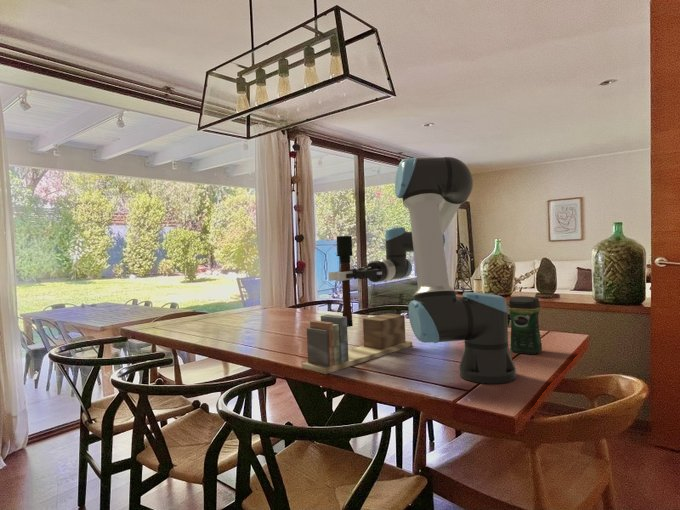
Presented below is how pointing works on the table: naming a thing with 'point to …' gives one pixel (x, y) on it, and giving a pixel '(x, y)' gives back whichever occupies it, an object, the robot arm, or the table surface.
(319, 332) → the book rack
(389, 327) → the bookend
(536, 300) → the coffee jar
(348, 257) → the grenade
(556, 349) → the table surface
